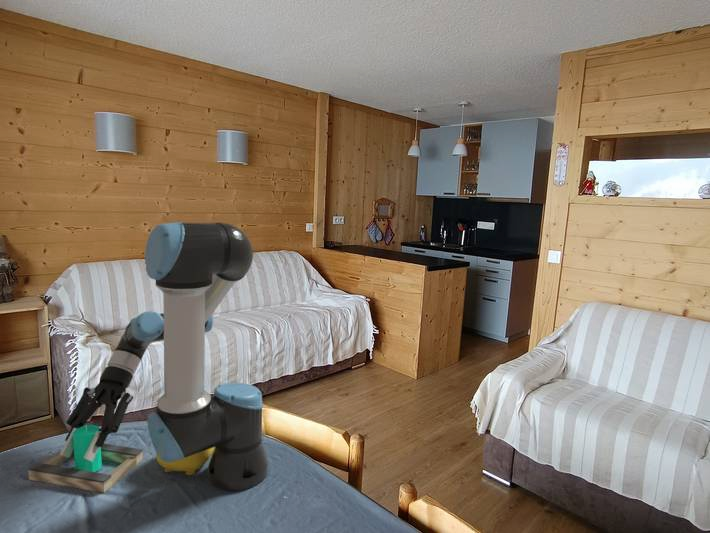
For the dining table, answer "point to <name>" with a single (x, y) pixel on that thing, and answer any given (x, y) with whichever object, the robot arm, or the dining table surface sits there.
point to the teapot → (187, 462)
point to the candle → (86, 448)
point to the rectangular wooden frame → (87, 479)
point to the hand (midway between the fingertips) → (76, 457)
